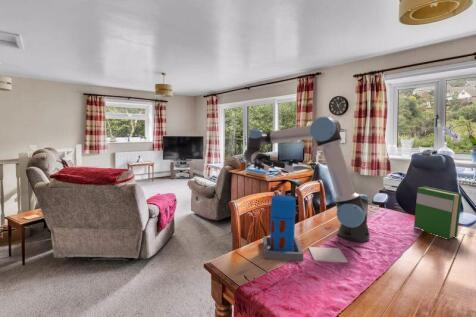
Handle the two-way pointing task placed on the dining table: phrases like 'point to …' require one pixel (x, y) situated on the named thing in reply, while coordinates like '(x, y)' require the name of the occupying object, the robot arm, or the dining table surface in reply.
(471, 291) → the dining table surface
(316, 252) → the mat
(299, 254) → the collar
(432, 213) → the hardback book
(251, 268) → the dining table surface
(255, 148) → the robot arm
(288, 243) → the thermos
